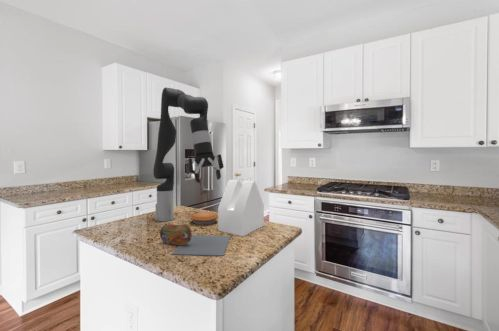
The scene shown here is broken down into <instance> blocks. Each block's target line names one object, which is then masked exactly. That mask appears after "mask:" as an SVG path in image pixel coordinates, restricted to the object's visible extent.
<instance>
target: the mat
mask: <svg viewBox="0 0 499 331" xmlns="http://www.w3.org/2000/svg"><path fill="white" fill-rule="evenodd" d="M231 236H232V235H222V234H221V235H220V234H219V235H214V234H212V235H210V234H192V237H191V240H190V241H189V242H188V243H186V244H185V245H177V247H176V249H175V250H173V252H171V255H172V256H193V257H194V256H195V257H196V256H197V257H198V256H200V257H201V256H204V257H205V256H206V257H207V256H208V257H224V256H225V253H226V250H227V248H228V245H229V243H230V240H231Z"/></svg>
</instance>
